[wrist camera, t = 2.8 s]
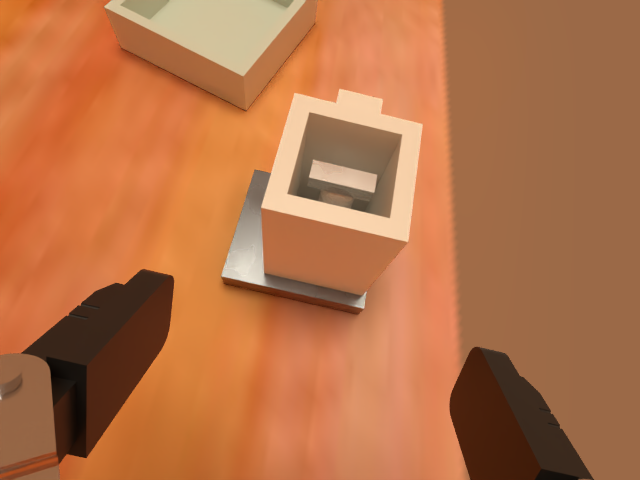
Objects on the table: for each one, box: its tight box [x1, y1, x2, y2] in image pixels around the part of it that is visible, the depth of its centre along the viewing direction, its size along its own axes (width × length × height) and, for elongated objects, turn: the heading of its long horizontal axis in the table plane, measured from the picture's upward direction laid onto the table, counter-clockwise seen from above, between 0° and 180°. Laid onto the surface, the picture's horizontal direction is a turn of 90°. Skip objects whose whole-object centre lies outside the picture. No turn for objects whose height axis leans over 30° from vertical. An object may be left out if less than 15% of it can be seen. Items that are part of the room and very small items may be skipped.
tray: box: [104, 0, 318, 111], centre depth 29 cm, size 10×10×3 cm
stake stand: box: [221, 160, 377, 314], centre depth 21 cm, size 8×7×8 cm
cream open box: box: [261, 89, 423, 296], centre depth 20 cm, size 6×7×8 cm
